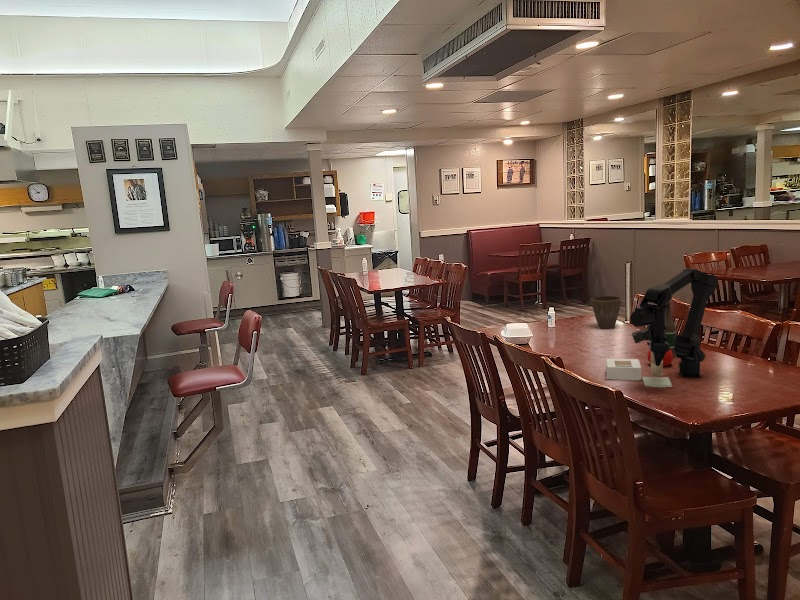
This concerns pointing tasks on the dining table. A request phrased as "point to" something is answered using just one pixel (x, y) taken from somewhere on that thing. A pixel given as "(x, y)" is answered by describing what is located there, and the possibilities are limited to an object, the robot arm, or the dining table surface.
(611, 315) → the plant pot
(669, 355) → the tomato
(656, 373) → the tan cylinder
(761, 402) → the dining table surface
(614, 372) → the box
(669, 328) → the beer bottle
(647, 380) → the rest pad
